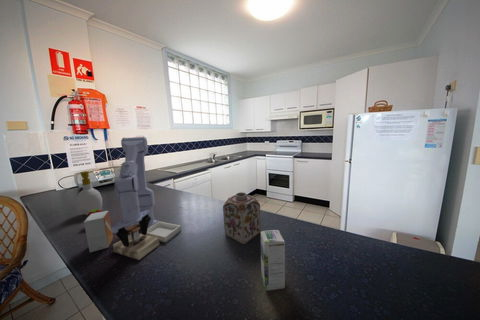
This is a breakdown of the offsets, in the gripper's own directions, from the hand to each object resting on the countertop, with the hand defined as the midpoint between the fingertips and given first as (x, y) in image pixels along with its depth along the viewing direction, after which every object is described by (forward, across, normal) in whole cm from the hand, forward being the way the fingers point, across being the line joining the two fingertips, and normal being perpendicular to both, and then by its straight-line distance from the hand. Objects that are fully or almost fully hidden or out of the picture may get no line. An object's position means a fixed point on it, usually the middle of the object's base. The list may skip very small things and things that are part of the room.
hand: (135, 239), depth 67 cm
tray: (+4, +11, -2) cm, 12 cm away
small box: (+4, -3, +17) cm, 18 cm away
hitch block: (+4, 0, 0) cm, 4 cm away
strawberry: (+4, +7, +39) cm, 40 cm away
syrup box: (+4, +2, -54) cm, 54 cm away
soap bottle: (+4, +15, +58) cm, 60 cm away
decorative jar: (+4, +22, -37) cm, 43 cm away
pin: (+4, 0, 0) cm, 4 cm away
